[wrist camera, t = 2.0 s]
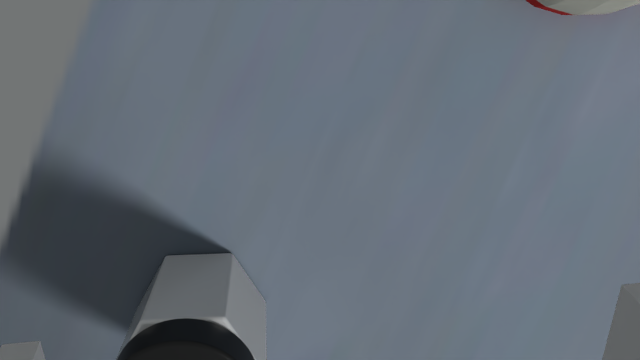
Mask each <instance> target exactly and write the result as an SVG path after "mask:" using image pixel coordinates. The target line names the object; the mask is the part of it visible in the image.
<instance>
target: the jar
mask: <svg viewBox="0 0 640 360" xmlns="http://www.w3.org/2000/svg"><path fill="white" fill-rule="evenodd" d="M116 360H267V341H266V302H265V300H264V299H263V297H262V296H261V294H260V293H259V291H258V290H257V288H256V287H255V286H254V284H253V283H252V281H251V280H250V278H249V277H248V275H247V274H246V272H245V271H244V270H243V268H242V267H241V265H240V264H239V262H238V261H237V259H236V258H235V256H234V255H233V254H232V253H220V254H194V255H168V256H166V257H165V258H164V260H163V261H162V263H161V265H160V267H159V269H158V271H157V273H156V274H155V276H154V278H153V280H152V282H151V284H150V285H149V287H148V289H147V291H146V293H145V295H144V297H143V298H142V300H141V302H140V304H139V306H138V308H137V310H136V313H135V315H134V317H133V320H132V322H131V325H130V327H129V329H128V332H127V334H126V336H125V339H124V341H123V344H122V346H121V348H120V351H119V353H118V356H117V358H116Z"/></svg>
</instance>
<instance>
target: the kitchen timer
mask: <svg viewBox="0 0 640 360" xmlns="http://www.w3.org/2000/svg"><path fill="white" fill-rule="evenodd" d="M526 1H527V2H529V3H530V4H532V5H533V6H535V7H538V8H541V9H544V10H548V11H551V12H554V13H558V14H561V15H594V14H608V13H612V12H615V11H618V10H621V9H624V8H627V7H630V6H633V5H636V4H639V3H640V0H526Z"/></svg>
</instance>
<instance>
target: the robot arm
mask: <svg viewBox="0 0 640 360" xmlns="http://www.w3.org/2000/svg"><path fill="white" fill-rule="evenodd" d="M0 360H45V356H44V353H43V349H42V346H41V342H40V341H34V342H24V343H13V344H3V345H2V346H1V348H0ZM602 360H640V283H635V284H625V285H622V286H621V290H620V293H619V297H618V301H617V305H616V309H615V313H614V316H613V320H612V324H611V328H610V332H609V336H608V340H607V343H606V347H605V351H604V355H603V359H602Z"/></svg>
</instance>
